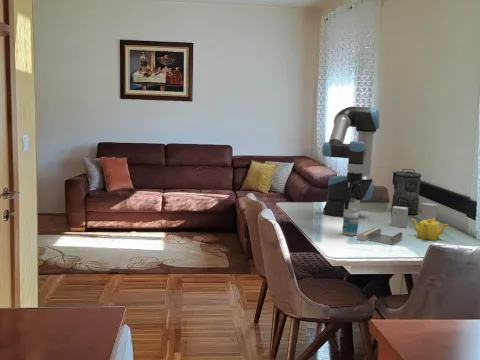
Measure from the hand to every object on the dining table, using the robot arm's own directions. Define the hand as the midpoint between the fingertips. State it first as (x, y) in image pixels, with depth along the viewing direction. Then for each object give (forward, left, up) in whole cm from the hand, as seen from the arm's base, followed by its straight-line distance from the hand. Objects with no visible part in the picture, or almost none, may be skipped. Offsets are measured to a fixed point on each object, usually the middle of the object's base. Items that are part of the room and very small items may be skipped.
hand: (351, 214), depth 273 cm
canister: (+4, +84, -11) cm, 85 cm away
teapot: (+33, +24, -11) cm, 42 cm away
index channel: (+18, +2, -11) cm, 21 cm away
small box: (+13, +41, -11) cm, 45 cm away
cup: (+25, +57, -11) cm, 63 cm away
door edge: (+9, +2, -11) cm, 14 cm away
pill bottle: (0, 0, -11) cm, 11 cm away
